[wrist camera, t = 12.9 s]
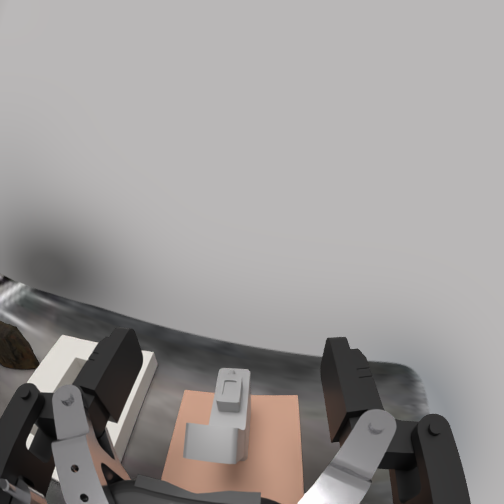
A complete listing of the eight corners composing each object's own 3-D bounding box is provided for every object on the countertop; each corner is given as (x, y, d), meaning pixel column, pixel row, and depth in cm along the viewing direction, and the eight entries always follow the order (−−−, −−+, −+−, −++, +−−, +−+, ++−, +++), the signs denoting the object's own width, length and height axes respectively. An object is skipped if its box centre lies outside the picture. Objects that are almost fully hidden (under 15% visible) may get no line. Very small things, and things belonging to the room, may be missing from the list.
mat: (155, 514, 8) (152, 513, 8) (186, 393, 17) (185, 389, 17) (303, 527, 8) (304, 527, 8) (297, 398, 17) (297, 395, 17)
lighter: (225, 407, 16) (213, 317, 13) (251, 408, 16) (249, 318, 13) (211, 500, 10) (177, 451, 6) (243, 503, 9) (234, 458, 6)
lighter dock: (5, 446, 8) (-6, 435, 8) (68, 346, 20) (62, 334, 20) (107, 505, 8) (95, 499, 7) (157, 364, 20) (153, 352, 19)
